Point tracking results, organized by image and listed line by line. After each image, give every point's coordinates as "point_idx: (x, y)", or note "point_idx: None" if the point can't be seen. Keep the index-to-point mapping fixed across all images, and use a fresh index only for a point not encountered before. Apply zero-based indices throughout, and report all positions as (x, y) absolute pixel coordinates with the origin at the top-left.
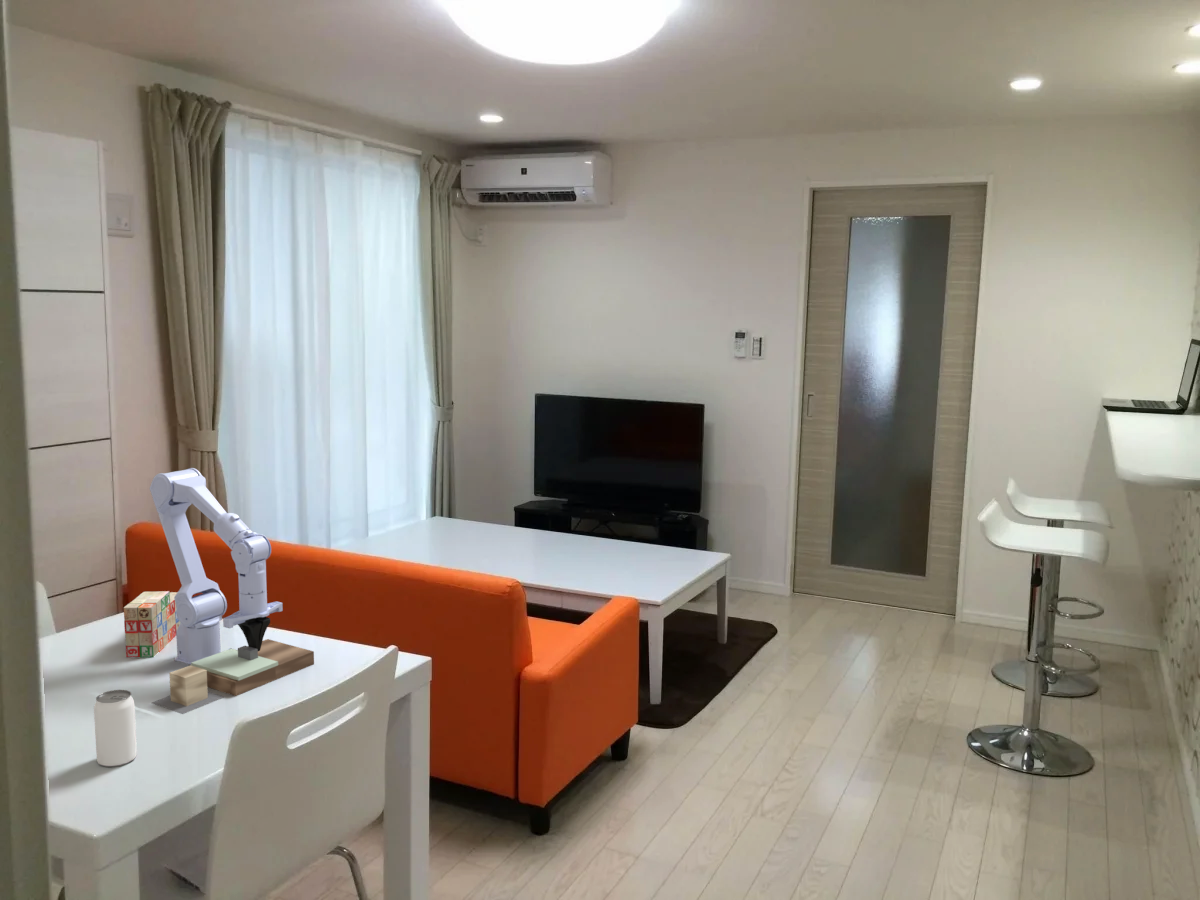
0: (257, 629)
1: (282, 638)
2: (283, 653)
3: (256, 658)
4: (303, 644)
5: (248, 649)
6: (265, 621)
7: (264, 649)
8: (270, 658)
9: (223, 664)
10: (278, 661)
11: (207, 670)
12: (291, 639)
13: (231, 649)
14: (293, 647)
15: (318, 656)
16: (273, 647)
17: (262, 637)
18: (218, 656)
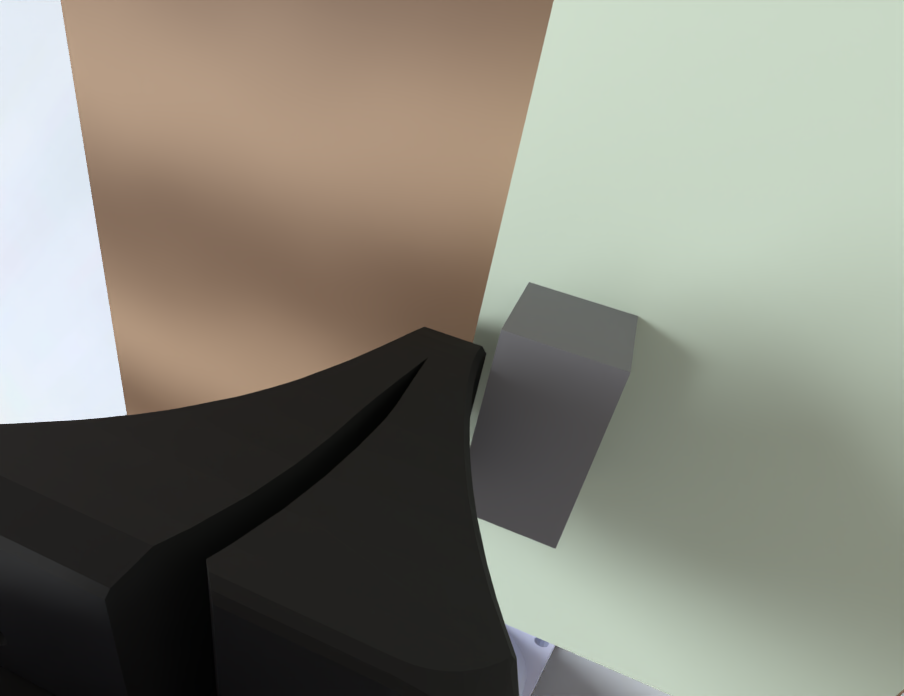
0: (377, 536)
1: (41, 407)
2: (254, 137)
3: (557, 284)
4: (6, 256)
5: (556, 428)
6: (50, 537)
7: (273, 365)
8: (417, 186)
9: (833, 528)
10: (460, 21)
11: None
12: (17, 359)
13: None
14: (107, 144)
15: (36, 4)
16: (206, 318)
17: (330, 379)
18: (612, 621)
